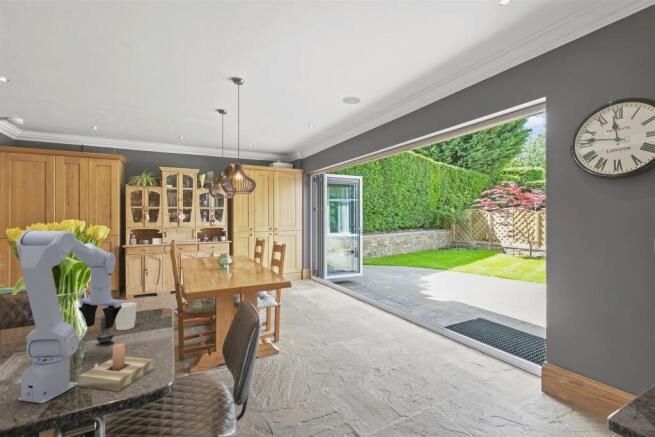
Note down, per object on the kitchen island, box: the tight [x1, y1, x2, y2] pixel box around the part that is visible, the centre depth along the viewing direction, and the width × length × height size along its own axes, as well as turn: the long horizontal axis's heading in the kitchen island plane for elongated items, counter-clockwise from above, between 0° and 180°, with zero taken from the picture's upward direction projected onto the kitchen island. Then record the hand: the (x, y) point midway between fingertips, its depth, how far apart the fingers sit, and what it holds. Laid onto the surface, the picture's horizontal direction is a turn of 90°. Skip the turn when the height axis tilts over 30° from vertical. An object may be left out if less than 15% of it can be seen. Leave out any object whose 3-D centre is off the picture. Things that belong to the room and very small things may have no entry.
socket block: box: [78, 356, 154, 392], centre depth 93 cm, size 13×13×3 cm
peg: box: [112, 342, 126, 371], centre depth 93 cm, size 3×3×10 cm
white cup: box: [115, 301, 138, 331], centre depth 135 cm, size 8×8×10 cm
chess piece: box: [95, 314, 116, 348], centre depth 117 cm, size 6×6×12 cm
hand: (100, 326), depth 106 cm, fingers open, 7 cm apart
